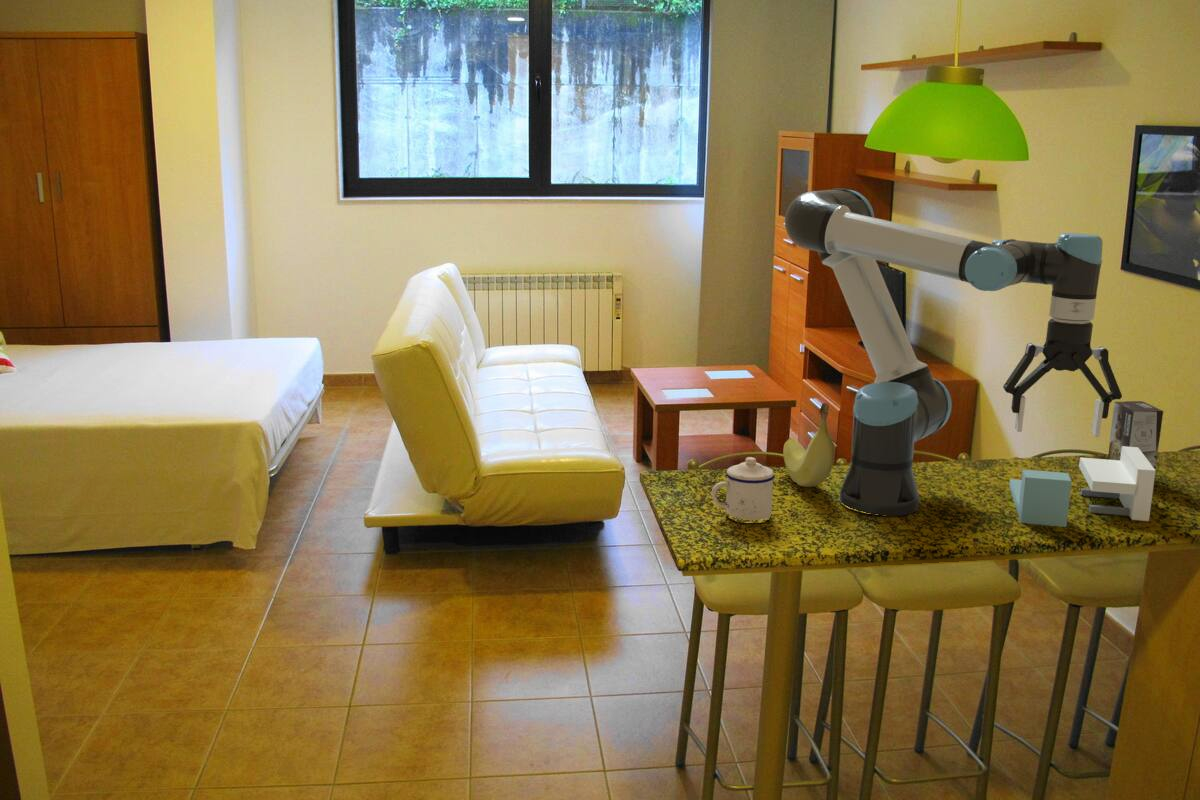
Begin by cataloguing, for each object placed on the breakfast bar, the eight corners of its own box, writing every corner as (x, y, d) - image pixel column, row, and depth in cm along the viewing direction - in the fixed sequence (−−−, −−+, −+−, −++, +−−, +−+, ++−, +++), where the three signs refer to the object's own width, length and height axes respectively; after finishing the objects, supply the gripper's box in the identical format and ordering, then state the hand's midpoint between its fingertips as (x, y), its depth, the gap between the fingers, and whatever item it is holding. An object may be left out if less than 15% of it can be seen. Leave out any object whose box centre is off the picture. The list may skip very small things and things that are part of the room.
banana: (775, 469, 236) (779, 379, 231) (800, 468, 237) (805, 378, 232) (808, 503, 214) (814, 405, 210) (837, 502, 215) (843, 404, 210)
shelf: (1088, 515, 208) (1094, 465, 206) (1076, 490, 223) (1081, 443, 221) (1148, 521, 206) (1155, 470, 203) (1132, 494, 221) (1138, 447, 218)
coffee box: (1155, 486, 226) (1165, 411, 222) (1123, 486, 226) (1133, 410, 223) (1134, 472, 235) (1144, 400, 231) (1104, 472, 235) (1113, 400, 231)
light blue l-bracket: (1066, 527, 203) (1071, 481, 201) (1020, 523, 205) (1025, 477, 203) (1050, 489, 224) (1055, 447, 222) (1009, 485, 226) (1013, 444, 224)
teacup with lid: (762, 507, 212) (764, 450, 210) (780, 523, 204) (782, 463, 201) (703, 511, 210) (705, 453, 207) (719, 528, 201) (721, 467, 198)
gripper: (1002, 319, 196) (989, 433, 202) (1150, 327, 192) (1133, 442, 197) (995, 313, 203) (983, 422, 209) (1138, 319, 199) (1122, 431, 204)
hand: (1056, 432), depth 203 cm, fingers open, 13 cm apart
